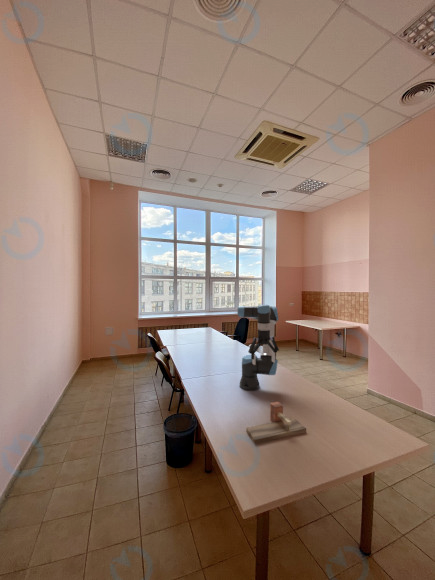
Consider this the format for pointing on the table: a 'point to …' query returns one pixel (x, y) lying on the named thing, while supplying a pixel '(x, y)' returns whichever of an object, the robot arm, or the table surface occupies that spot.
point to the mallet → (278, 414)
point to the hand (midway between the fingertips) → (263, 363)
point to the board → (274, 430)
